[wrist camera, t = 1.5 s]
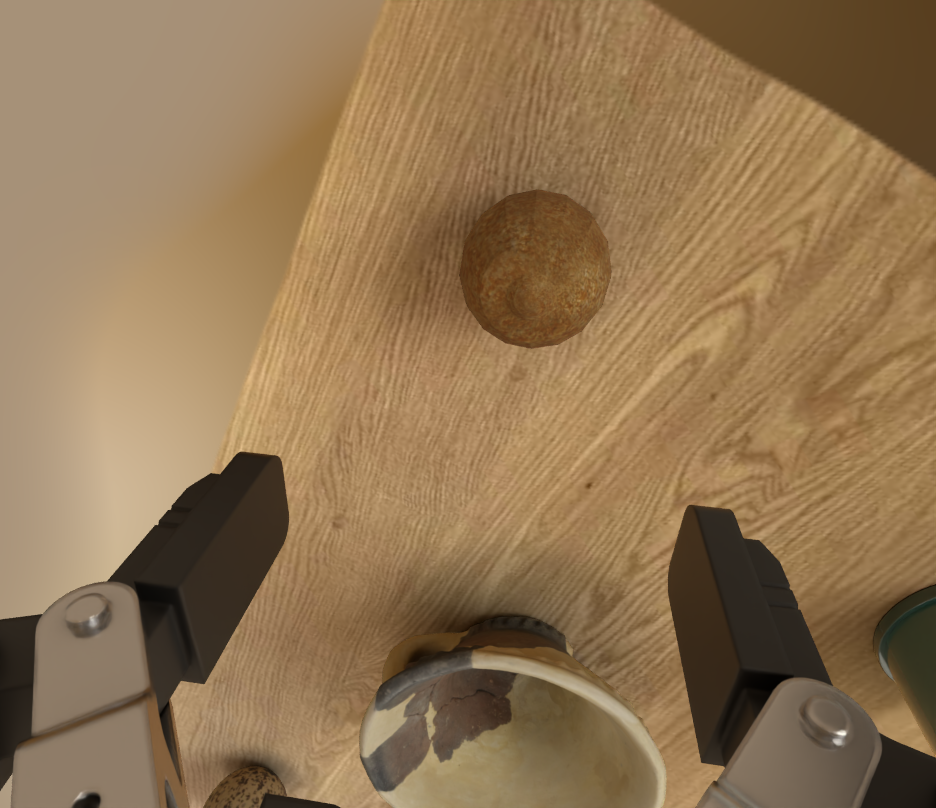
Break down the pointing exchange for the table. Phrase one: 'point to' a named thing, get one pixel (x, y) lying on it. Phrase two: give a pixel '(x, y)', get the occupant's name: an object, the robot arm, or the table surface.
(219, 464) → the table surface
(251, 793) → the decorative egg
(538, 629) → the bowl
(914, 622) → the cup
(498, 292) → the fruit
